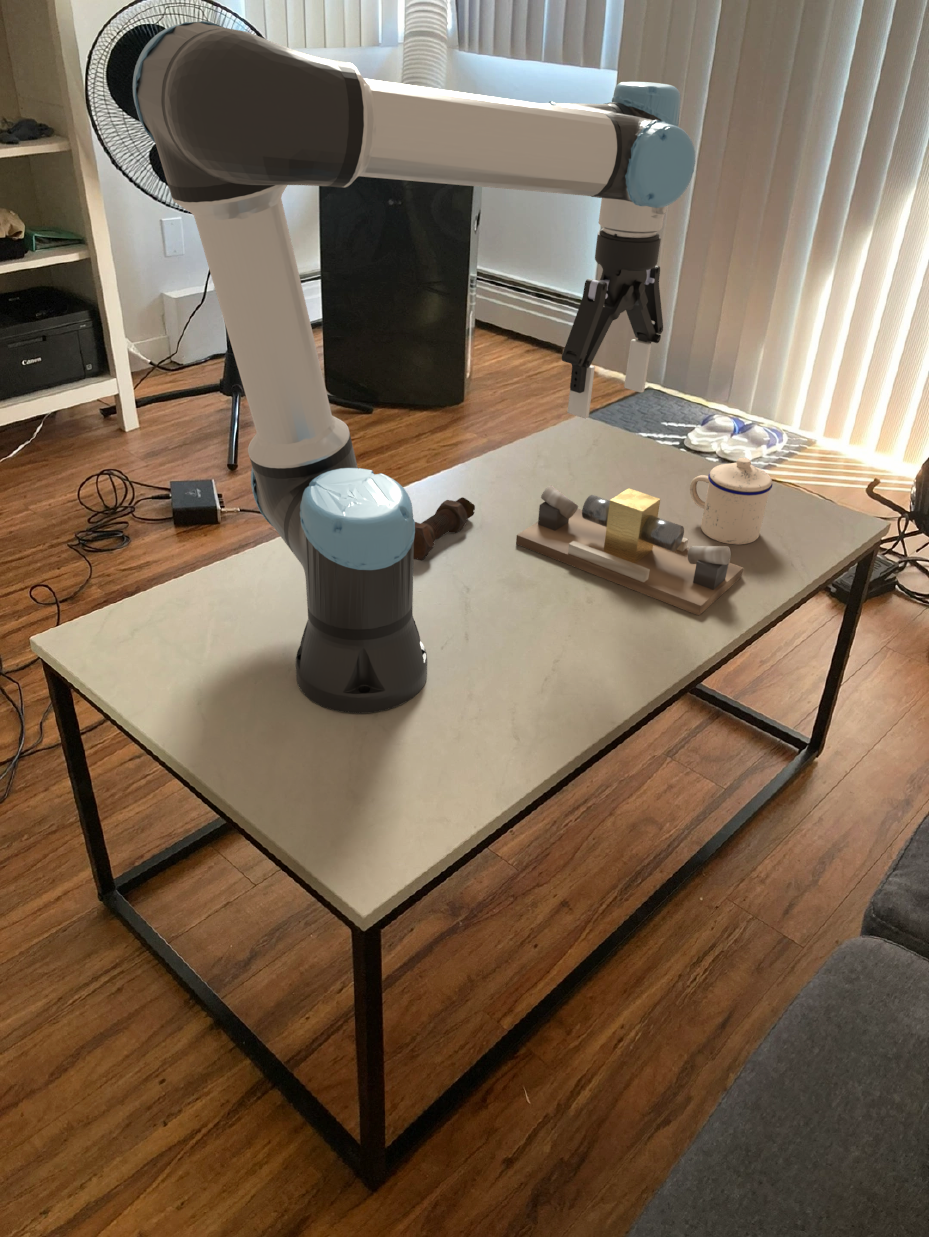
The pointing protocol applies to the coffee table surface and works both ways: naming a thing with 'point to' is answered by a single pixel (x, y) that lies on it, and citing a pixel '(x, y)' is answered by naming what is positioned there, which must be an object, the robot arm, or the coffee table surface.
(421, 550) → the bolt
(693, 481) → the teacup with lid
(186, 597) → the coffee table surface
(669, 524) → the universal joint
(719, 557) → the coupling cradle
